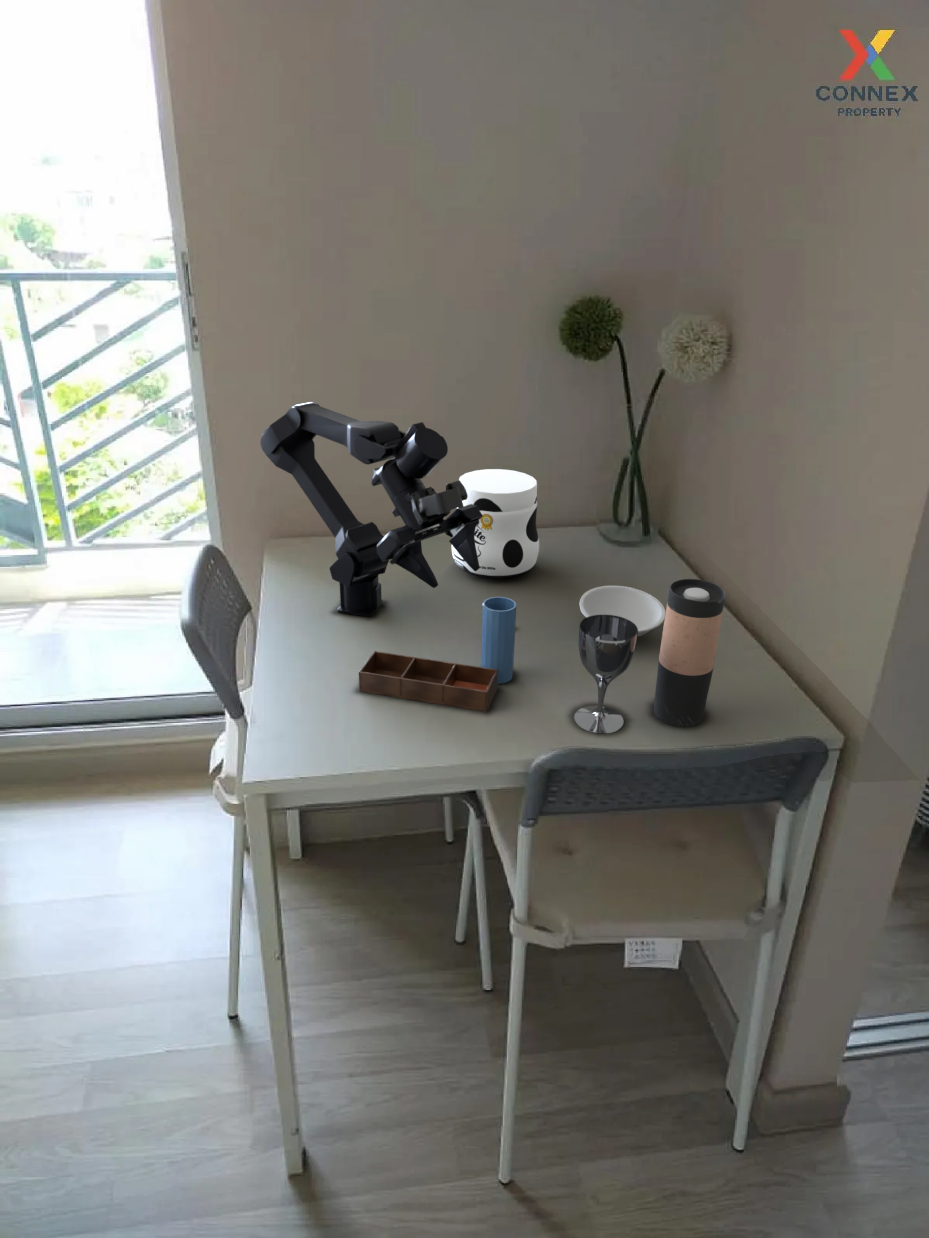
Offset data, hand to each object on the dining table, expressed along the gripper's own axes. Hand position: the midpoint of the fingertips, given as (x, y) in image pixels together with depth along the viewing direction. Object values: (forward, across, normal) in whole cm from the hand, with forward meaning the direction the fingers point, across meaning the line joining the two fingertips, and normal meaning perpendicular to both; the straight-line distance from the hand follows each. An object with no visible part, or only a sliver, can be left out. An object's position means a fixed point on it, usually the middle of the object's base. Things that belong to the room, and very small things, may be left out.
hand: (457, 578), depth 137 cm
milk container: (-4, +31, +24) cm, 39 cm away
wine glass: (+30, +1, -10) cm, 31 cm away
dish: (+20, +26, 0) cm, 32 cm away
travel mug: (+35, +11, -15) cm, 39 cm away
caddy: (+13, -11, +6) cm, 18 cm away
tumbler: (+16, 0, +3) cm, 17 cm away
